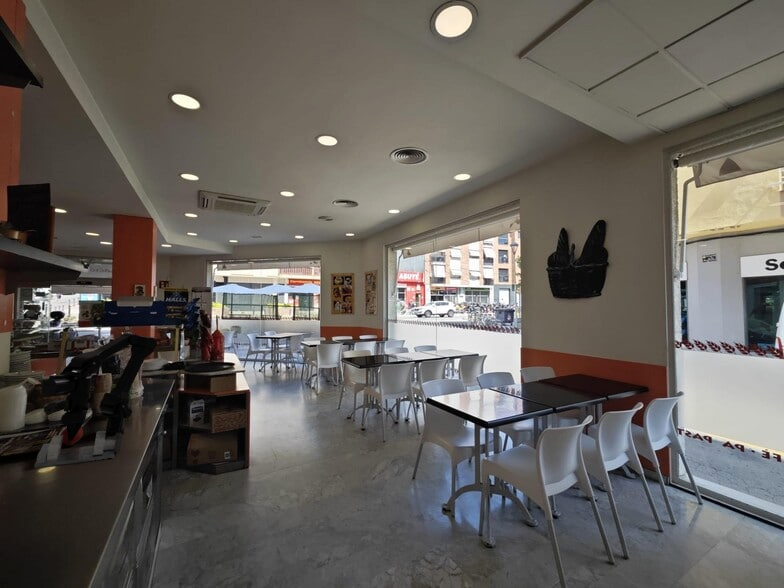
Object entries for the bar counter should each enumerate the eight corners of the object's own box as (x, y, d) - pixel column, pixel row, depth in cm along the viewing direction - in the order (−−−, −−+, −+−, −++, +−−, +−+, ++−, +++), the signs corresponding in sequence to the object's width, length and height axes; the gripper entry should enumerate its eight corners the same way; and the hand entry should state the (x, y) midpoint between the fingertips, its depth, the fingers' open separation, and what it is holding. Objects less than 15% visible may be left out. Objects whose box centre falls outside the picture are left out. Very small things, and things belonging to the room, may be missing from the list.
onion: (67, 449, 120) (71, 425, 120) (54, 446, 121) (58, 423, 122) (85, 444, 125) (89, 421, 126) (72, 441, 127) (76, 419, 127)
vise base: (41, 454, 114) (44, 435, 115) (114, 446, 126) (117, 429, 127) (34, 468, 105) (37, 447, 106) (114, 458, 117) (117, 439, 117)
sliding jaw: (94, 446, 121) (96, 431, 122) (119, 443, 126) (122, 429, 126) (92, 455, 114) (95, 439, 115) (119, 452, 119) (122, 436, 119)
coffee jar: (107, 413, 161) (114, 372, 163) (129, 412, 166) (135, 372, 167) (104, 419, 153) (111, 376, 155) (127, 418, 158) (133, 376, 159)
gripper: (52, 387, 127) (44, 431, 126) (43, 398, 113) (34, 448, 111) (92, 386, 134) (85, 427, 133) (88, 396, 119) (81, 443, 118)
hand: (71, 436), depth 124 cm, fingers open, 9 cm apart
